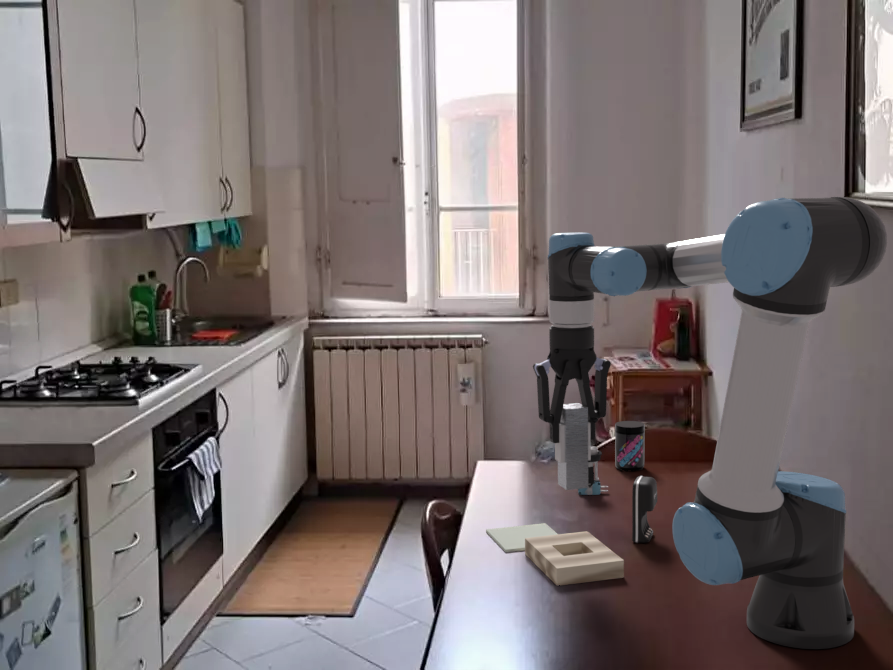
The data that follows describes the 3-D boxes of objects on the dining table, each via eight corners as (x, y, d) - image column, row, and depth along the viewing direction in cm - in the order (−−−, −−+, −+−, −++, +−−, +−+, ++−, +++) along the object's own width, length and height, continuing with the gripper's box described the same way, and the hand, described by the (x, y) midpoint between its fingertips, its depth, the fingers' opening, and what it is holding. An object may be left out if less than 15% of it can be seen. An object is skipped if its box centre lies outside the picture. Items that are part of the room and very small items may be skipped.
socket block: (623, 577, 181) (623, 560, 181) (557, 585, 178) (556, 568, 178) (587, 547, 196) (587, 531, 196) (525, 554, 193) (524, 538, 193)
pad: (567, 545, 198) (567, 542, 198) (505, 552, 195) (505, 549, 195) (545, 525, 209) (545, 523, 209) (486, 532, 206) (486, 529, 206)
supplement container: (609, 469, 248) (609, 425, 247) (623, 462, 254) (623, 419, 252) (636, 473, 244) (636, 428, 243) (649, 466, 250) (649, 423, 248)
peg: (588, 487, 184) (587, 407, 182) (566, 490, 183) (565, 409, 181) (579, 481, 188) (578, 403, 186) (557, 483, 187) (557, 404, 185)
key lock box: (652, 545, 197) (652, 484, 195) (631, 543, 198) (631, 483, 196) (658, 533, 203) (658, 474, 202) (637, 531, 204) (638, 473, 203)
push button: (607, 489, 232) (607, 444, 231) (609, 497, 227) (609, 450, 225) (576, 489, 233) (575, 444, 231) (577, 497, 227) (577, 451, 226)
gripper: (609, 319, 187) (610, 450, 190) (516, 324, 183) (518, 458, 186) (627, 324, 180) (627, 460, 183) (531, 330, 175) (533, 469, 179)
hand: (572, 459), depth 184 cm, fingers closed on peg, 4 cm apart
